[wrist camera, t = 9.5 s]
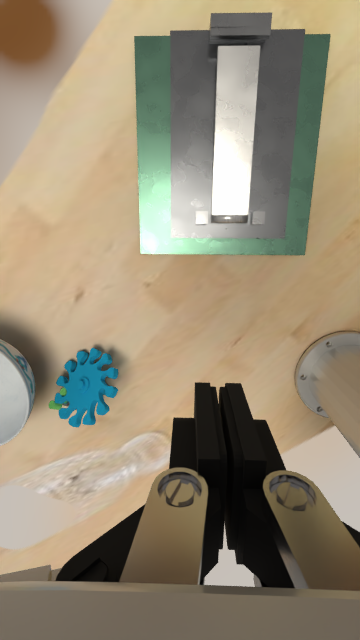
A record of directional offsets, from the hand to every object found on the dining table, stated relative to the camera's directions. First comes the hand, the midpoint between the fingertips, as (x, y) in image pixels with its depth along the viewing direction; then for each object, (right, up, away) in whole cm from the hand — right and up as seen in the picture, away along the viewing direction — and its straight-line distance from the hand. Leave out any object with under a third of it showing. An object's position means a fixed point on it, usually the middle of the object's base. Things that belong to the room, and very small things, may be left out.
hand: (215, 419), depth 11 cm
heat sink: (+4, +22, +24) cm, 33 cm away
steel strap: (+4, +21, +18) cm, 28 cm away
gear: (-14, -4, +32) cm, 35 cm away
